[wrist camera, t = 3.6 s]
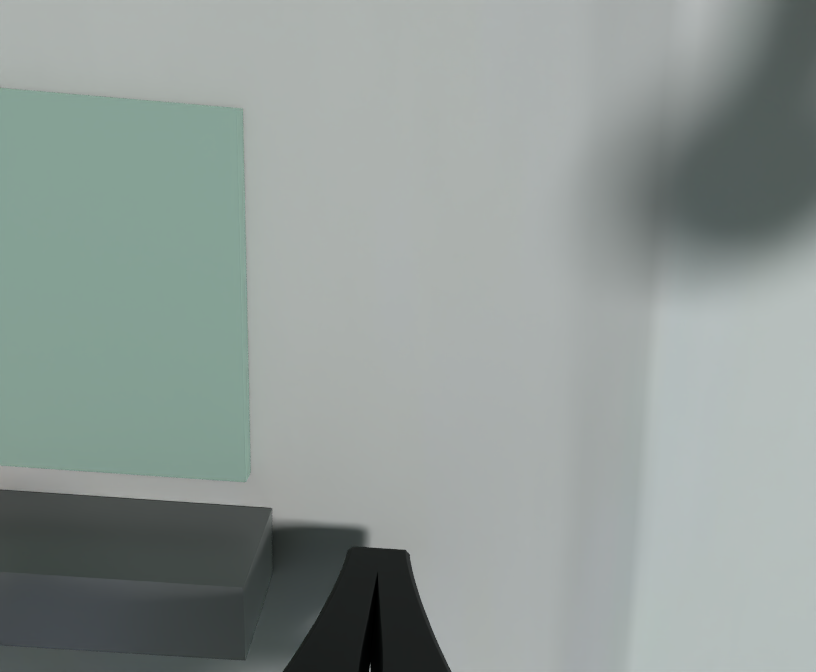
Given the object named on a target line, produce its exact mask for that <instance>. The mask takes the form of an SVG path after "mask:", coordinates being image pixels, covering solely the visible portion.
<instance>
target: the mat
mask: <svg viewBox="0 0 816 672" xmlns="http://www.w3.org/2000/svg"><path fill="white" fill-rule="evenodd" d="M0 466H15V467H29V468H44V469H59V470H74V471H88V472H103V473H118V474H132V475H147V476H162V477H176V478H191V479H206V480H221V481H235V482H246V481H247V479H248V477H249V475H250V472H251V467H250V421H249V374H248V328H247V281H246V235H245V188H244V142H243V109H241V108H230V107H219V106H207V105H195V104H183V103H172V102H160V101H148V100H136V99H124V98H113V97H101V96H89V95H77V94H66V93H54V92H42V91H30V90H19V89H7V88H0Z"/></svg>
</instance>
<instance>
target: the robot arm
mask: <svg viewBox="0 0 816 672" xmlns="http://www.w3.org/2000/svg"><path fill="white" fill-rule="evenodd" d="M370 662H371V672H451V670H450V668H449V666H448V664H447V662H446V660H445V658H444V655H443V653H442V651H441V649H440V647H439V645H438V642H437V640H436V638H435V635H434V633H433V631H432V628H431V626H430V623H429V620H428V618H427V615H426V613H425V610H424V607H423V605H422V602H421V599H420V596H419V593H418V589H417V586H416V583H415V579H414V575H413V571H412V567H411V562H410V554H409V553H408V552H407V551H406V550H398V549H382V548H367V547H352V548H350V549H349V550H348V552H347V556H346V559H345V562H344V565H343V567H342V570H341V572H340V575H339V577H338V579H337V581H336V583H335V585H334V588H333V590H332V592H331V594H330V596H329V597H328V599H327V601H326V603H325V605H324V607H323V609H322V611H321V612H320V614H319V616H318V618H317V620H316V621H315V623H314V625H313V626H312V628H311V630H310V631H309V633H308V634H307V636H306V638H305V639H304V641H303V642H302V644H301V646H300V647H299V649H298V650H297V652H296V653H295V655H294V656H293V658H292V659H291V661H290V662H289V664H288V665H287V666H286V668H285V669H284V671H283V672H369V668H370Z"/></svg>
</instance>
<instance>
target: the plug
mask: <svg viewBox="0 0 816 672" xmlns="http://www.w3.org/2000/svg"><path fill="white" fill-rule="evenodd" d="M271 576H272V509H271V508H257V507H242V506H227V505H213V504H198V503H183V502H169V501H154V500H140V499H125V498H110V497H96V496H81V495H66V494H52V493H37V492H22V491H8V490H0V645H5V646H21V647H37V648H53V649H69V650H86V651H102V652H118V653H134V654H150V655H166V656H182V657H199V658H215V659H231V660H246V657H247V654H248V651H249V647H250V644H251V641H252V638H253V635H254V631H255V628H256V625H257V622H258V618H259V615H260V612H261V609H262V605H263V602H264V599H265V596H266V593H267V589H268V586H269V583H270V580H271Z"/></svg>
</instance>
